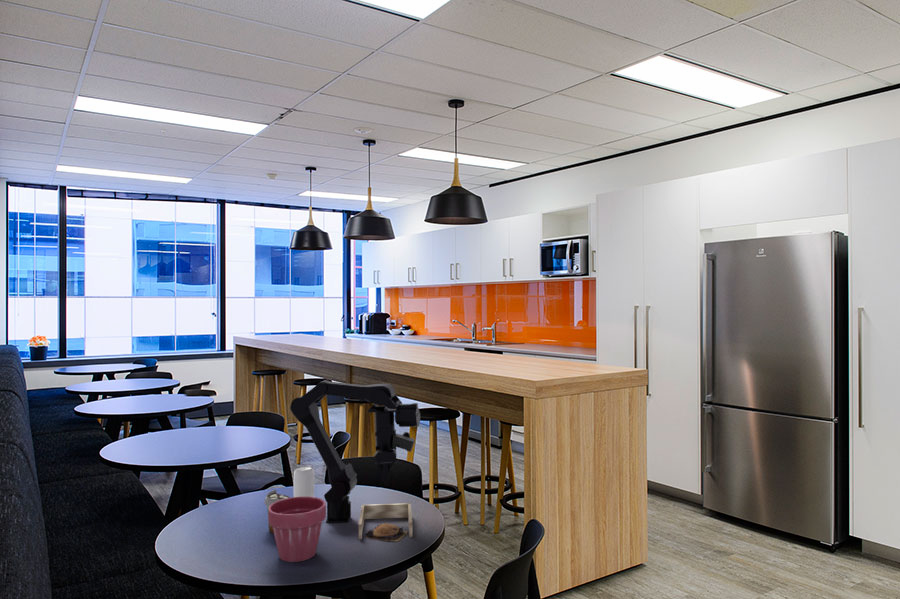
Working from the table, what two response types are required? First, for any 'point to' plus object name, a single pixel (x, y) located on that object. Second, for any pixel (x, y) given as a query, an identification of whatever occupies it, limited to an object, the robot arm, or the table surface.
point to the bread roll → (386, 532)
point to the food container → (271, 499)
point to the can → (304, 481)
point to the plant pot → (297, 526)
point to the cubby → (385, 513)
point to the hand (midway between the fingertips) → (386, 479)
